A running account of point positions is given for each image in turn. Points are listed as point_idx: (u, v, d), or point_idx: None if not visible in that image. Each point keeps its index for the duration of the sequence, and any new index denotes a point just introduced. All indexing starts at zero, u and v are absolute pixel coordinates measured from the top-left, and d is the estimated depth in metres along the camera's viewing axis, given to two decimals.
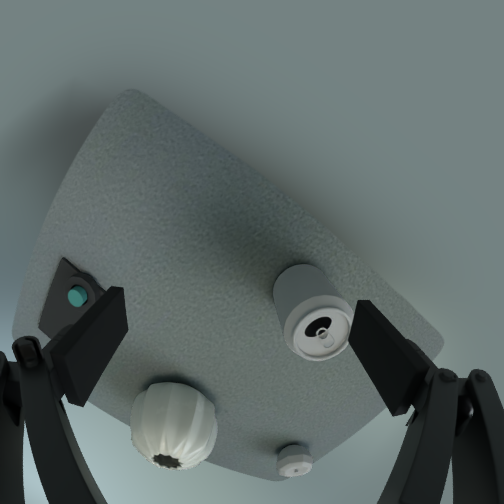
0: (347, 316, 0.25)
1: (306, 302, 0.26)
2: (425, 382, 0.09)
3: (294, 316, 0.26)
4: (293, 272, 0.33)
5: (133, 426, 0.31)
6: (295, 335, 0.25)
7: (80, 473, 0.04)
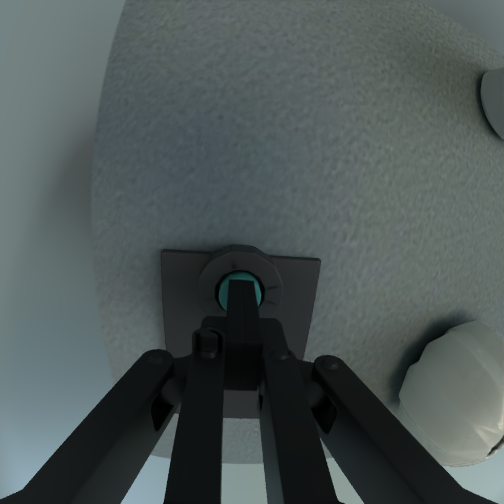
0: None
1: None
2: (260, 358, 0.10)
3: None
4: (495, 75, 0.13)
5: (442, 438, 0.14)
6: None
7: (220, 475, 0.05)
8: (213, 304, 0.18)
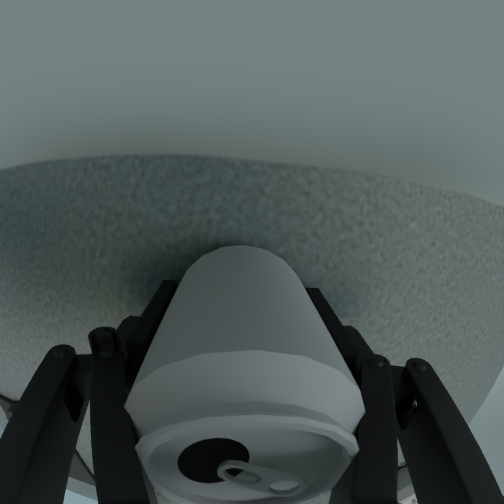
0: (279, 423, 0.05)
1: (130, 409, 0.06)
2: (355, 366, 0.10)
3: None
4: None
5: None
6: (164, 493, 0.06)
7: (140, 469, 0.05)
8: None
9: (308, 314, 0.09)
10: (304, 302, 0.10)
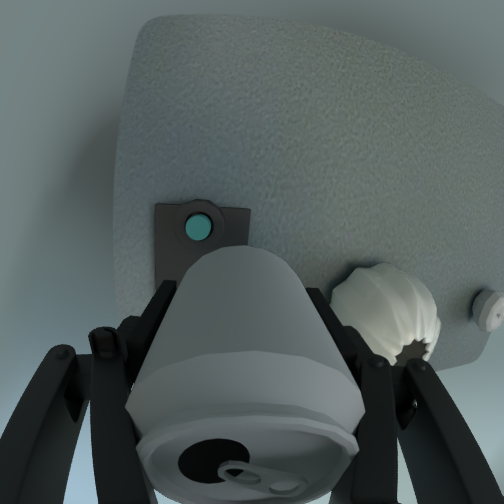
0: (280, 423, 0.05)
1: (130, 410, 0.06)
2: (355, 366, 0.10)
3: None
4: None
5: None
6: (165, 494, 0.06)
7: (140, 469, 0.05)
8: (183, 233, 0.30)
9: (308, 315, 0.09)
10: (304, 303, 0.10)
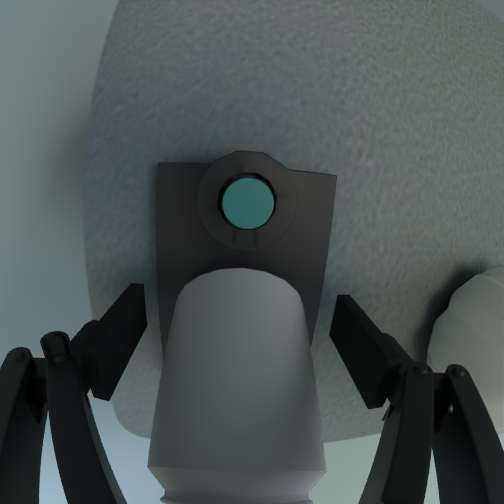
0: None
1: (153, 472, 0.08)
2: (398, 375, 0.09)
3: None
4: (174, 319, 0.13)
5: (486, 392, 0.11)
6: None
7: (102, 470, 0.04)
8: (215, 215, 0.15)
9: (294, 398, 0.09)
10: (294, 375, 0.10)
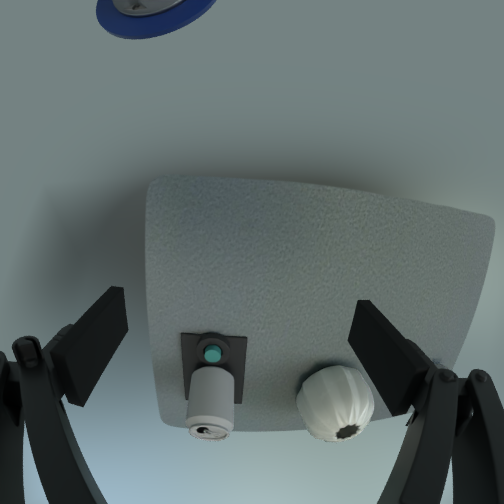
0: (211, 426, 0.34)
1: (187, 421, 0.36)
2: (425, 382, 0.09)
3: (188, 427, 0.36)
4: (192, 381, 0.42)
5: (308, 422, 0.40)
6: (193, 436, 0.36)
7: (80, 473, 0.04)
8: (202, 355, 0.44)
9: (222, 402, 0.38)
10: (223, 397, 0.39)
